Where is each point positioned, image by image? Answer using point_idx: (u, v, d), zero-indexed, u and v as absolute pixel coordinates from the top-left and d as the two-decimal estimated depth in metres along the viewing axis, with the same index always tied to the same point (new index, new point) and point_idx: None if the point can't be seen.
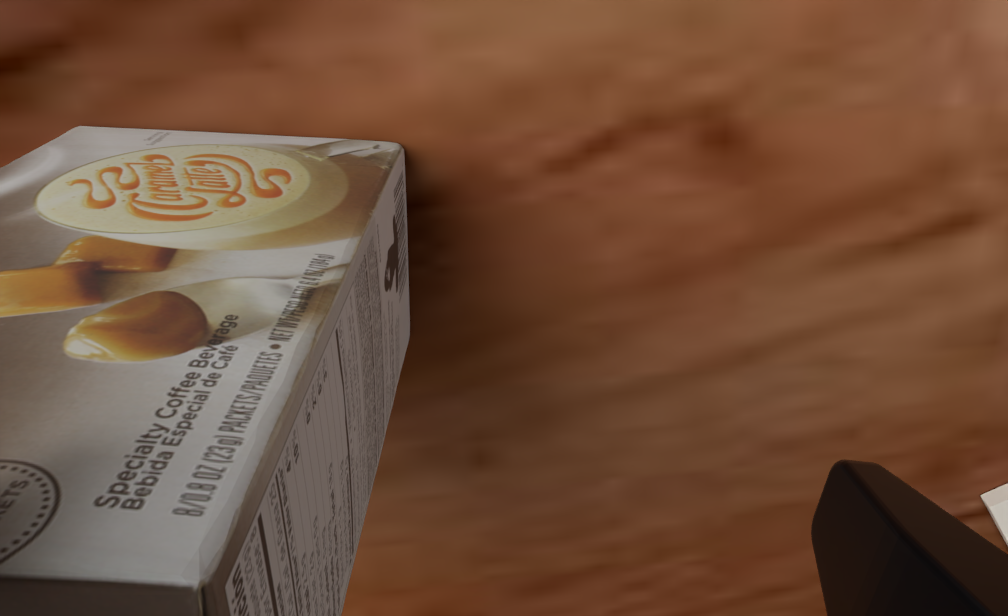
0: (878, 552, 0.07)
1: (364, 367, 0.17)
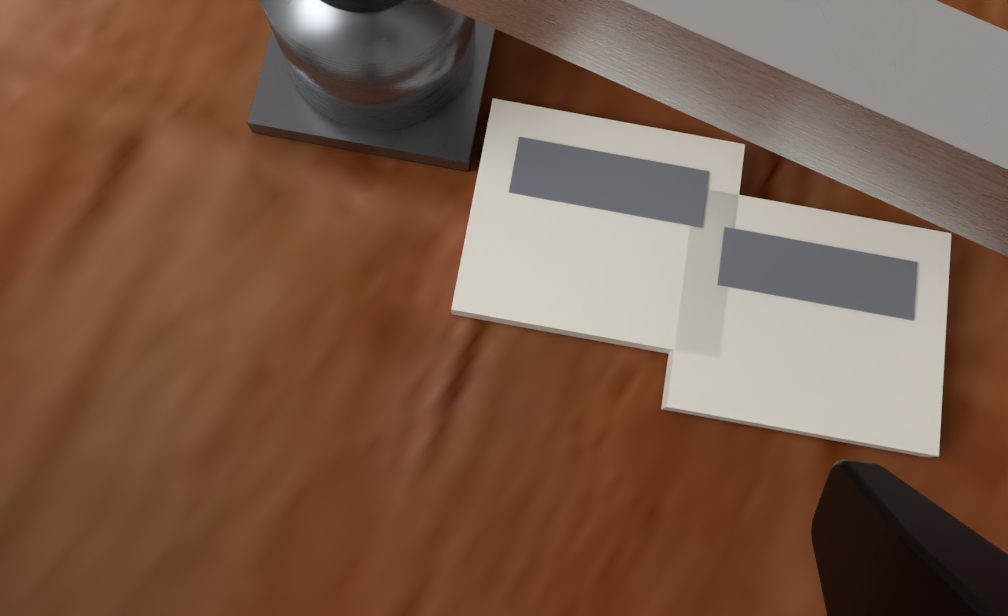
0: (878, 552, 0.07)
1: None
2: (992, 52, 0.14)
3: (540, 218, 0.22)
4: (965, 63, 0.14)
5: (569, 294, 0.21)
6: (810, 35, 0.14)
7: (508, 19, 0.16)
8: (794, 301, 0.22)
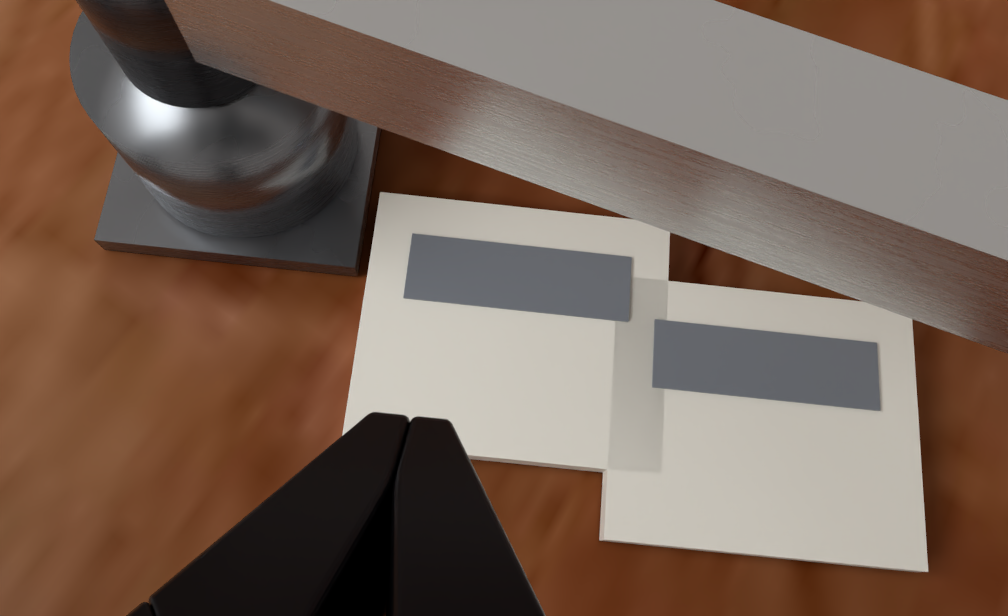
0: None
1: None
2: (933, 106, 0.12)
3: (441, 325, 0.19)
4: (902, 121, 0.12)
5: (480, 412, 0.18)
6: (712, 100, 0.12)
7: (359, 104, 0.14)
8: (742, 399, 0.19)
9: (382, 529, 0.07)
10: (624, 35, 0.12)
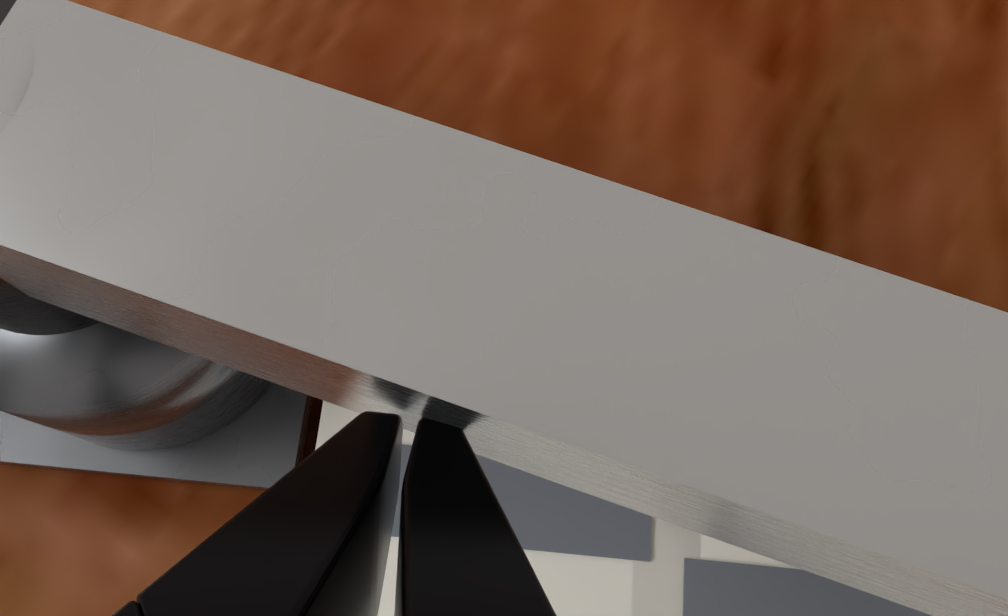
0: None
1: None
2: None
3: None
4: None
5: None
6: (815, 427, 0.07)
7: (264, 372, 0.09)
8: None
9: (373, 528, 0.07)
10: (667, 313, 0.07)
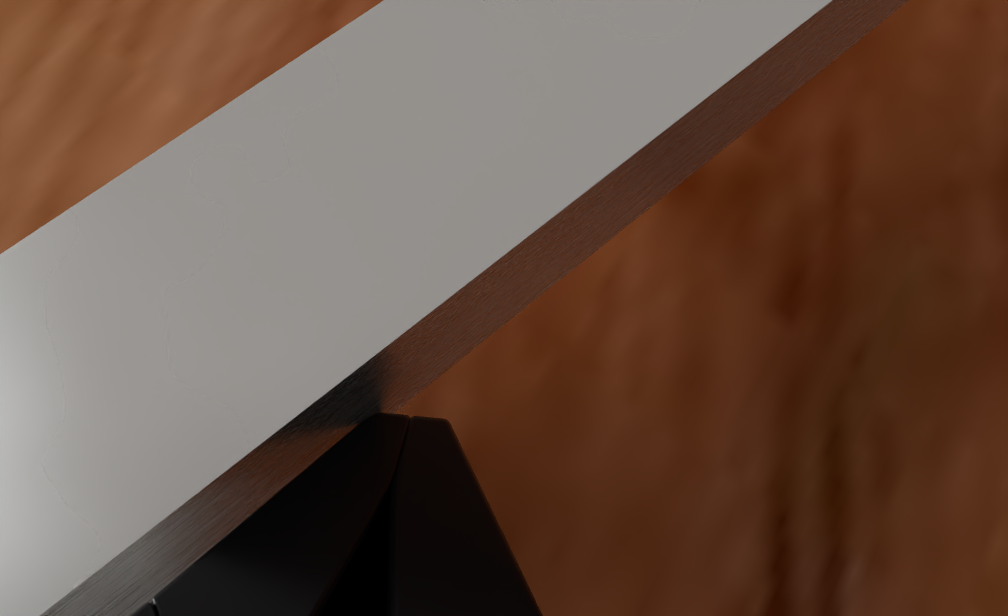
0: None
1: None
2: None
3: None
4: None
5: None
6: (602, 57, 0.07)
7: (222, 537, 0.08)
8: None
9: (384, 529, 0.07)
10: (431, 108, 0.07)
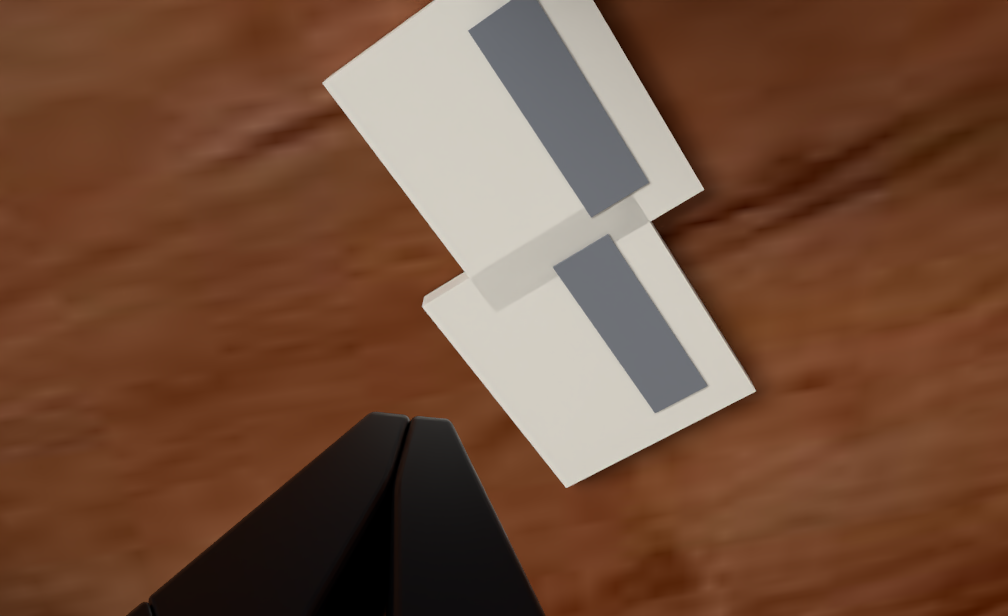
0: None
1: None
2: None
3: (472, 81, 0.19)
4: None
5: (432, 165, 0.19)
6: None
7: None
8: (592, 329, 0.21)
9: (382, 529, 0.07)
10: None
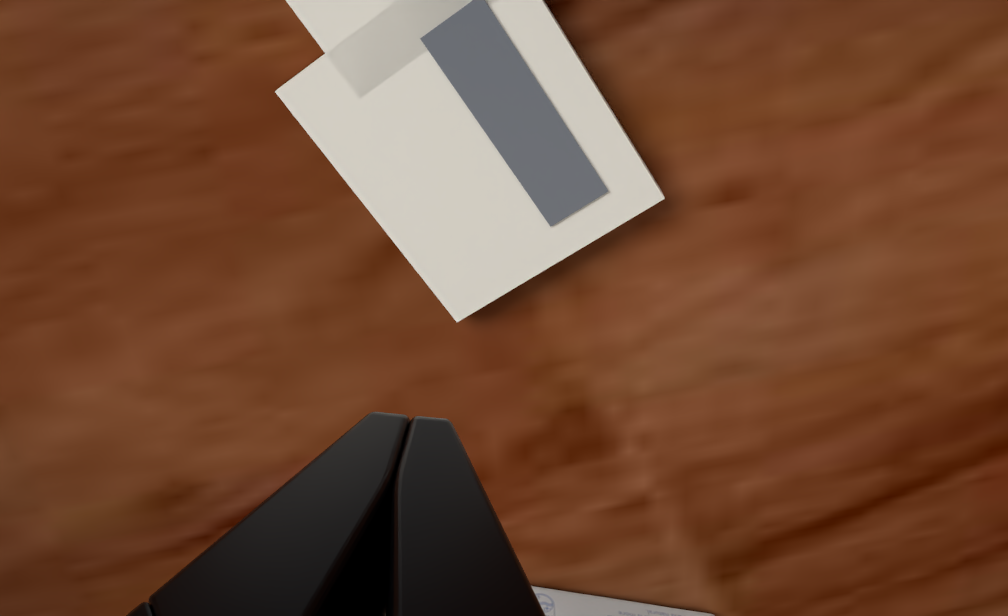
0: None
1: None
2: None
3: None
4: None
5: None
6: None
7: None
8: (472, 119, 0.19)
9: (382, 529, 0.07)
10: None
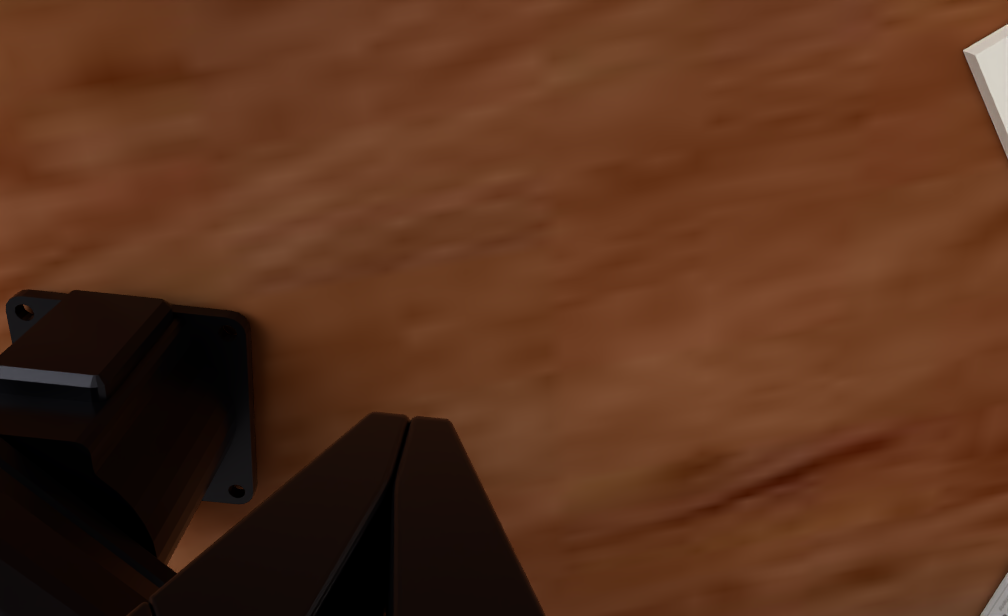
0: None
1: None
2: None
3: None
4: None
5: None
6: None
7: None
8: None
9: (382, 529, 0.07)
10: None
